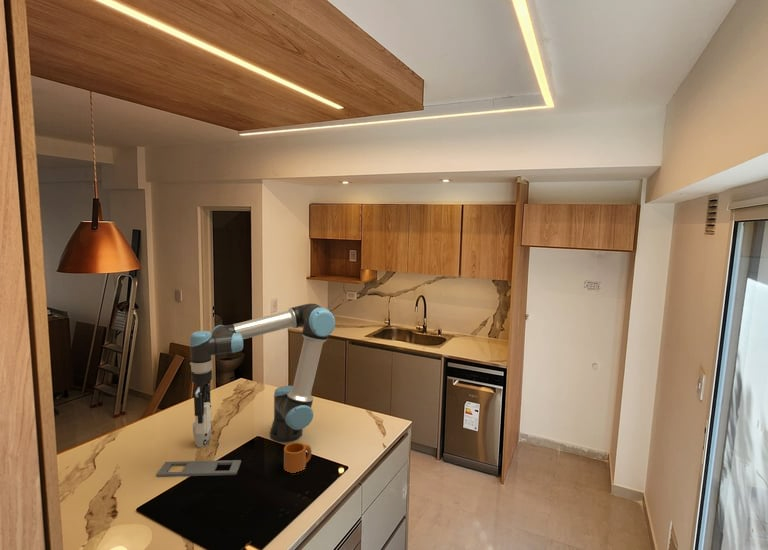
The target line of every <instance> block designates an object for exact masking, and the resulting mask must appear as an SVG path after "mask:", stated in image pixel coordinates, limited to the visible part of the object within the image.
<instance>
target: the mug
mask: <svg viewBox="0 0 768 550" xmlns="http://www.w3.org/2000/svg"><path fill="white" fill-rule="evenodd" d="M311 458H312V447H311V446H310V445H309V444H305V443H303V442H298V441H297V442H294V441H293V442H290V443H288V444H286V445H285V446H284V447H283V470H285V471H287V472H290V473H296V472H299V471H302V470H304V469H305V470H306V468H305V467H307V463H309V461H310V459H311ZM305 470H304V471H305ZM285 471H284V472H285Z"/></svg>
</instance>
